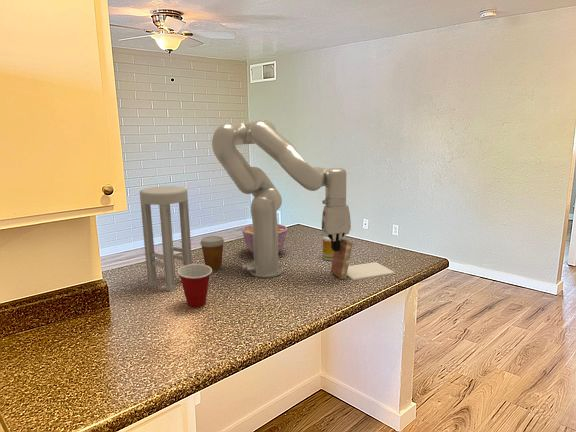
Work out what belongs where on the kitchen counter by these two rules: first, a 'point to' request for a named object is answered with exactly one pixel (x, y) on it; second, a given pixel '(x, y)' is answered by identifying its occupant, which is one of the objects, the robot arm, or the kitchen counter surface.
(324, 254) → the supplement bottle
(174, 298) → the kitchen counter surface
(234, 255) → the kitchen counter surface
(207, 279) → the plastic cup
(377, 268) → the mat
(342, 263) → the slab
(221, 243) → the disposable coffee cup
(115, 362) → the kitchen counter surface
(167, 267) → the stool
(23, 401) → the kitchen counter surface
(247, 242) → the bowl of food
